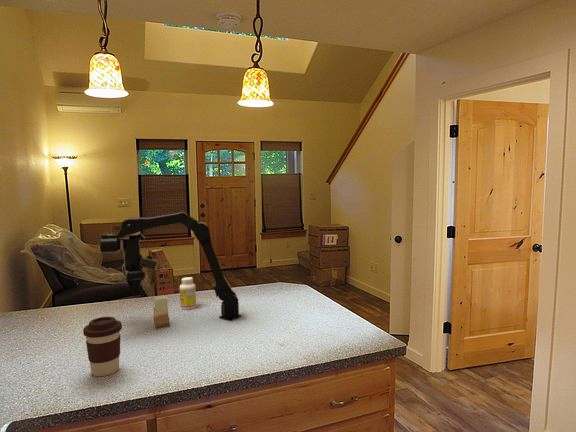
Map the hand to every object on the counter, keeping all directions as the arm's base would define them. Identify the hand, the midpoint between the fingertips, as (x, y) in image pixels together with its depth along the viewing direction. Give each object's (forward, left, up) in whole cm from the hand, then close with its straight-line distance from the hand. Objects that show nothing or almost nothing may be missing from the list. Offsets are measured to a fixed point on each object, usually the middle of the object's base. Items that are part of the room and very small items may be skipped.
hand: (134, 293), depth 144 cm
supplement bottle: (0, -26, -13) cm, 29 cm away
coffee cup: (-22, +26, -13) cm, 37 cm away
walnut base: (-7, -6, -13) cm, 16 cm away
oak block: (-7, -6, -10) cm, 14 cm away
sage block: (-7, -6, -6) cm, 11 cm away
